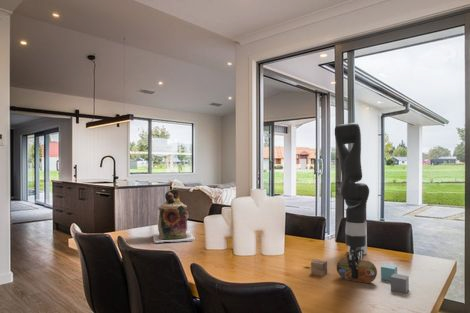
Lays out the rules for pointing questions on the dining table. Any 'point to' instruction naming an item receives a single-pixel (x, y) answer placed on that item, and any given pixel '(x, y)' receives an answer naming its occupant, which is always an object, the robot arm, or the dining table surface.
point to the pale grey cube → (399, 283)
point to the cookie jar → (172, 220)
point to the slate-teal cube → (388, 271)
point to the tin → (365, 270)
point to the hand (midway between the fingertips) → (355, 277)
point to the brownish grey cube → (319, 267)
